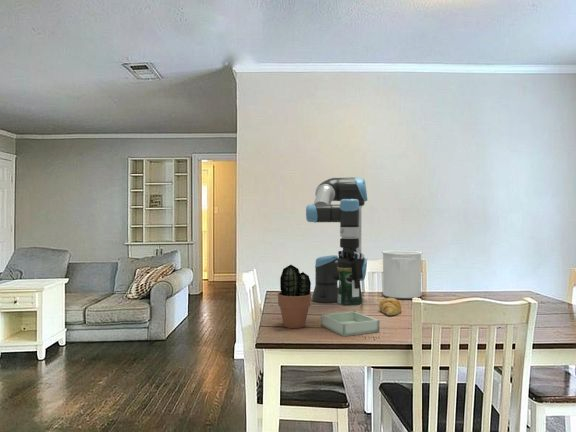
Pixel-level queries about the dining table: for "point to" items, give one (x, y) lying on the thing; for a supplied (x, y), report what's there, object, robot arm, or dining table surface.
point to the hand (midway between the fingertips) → (349, 294)
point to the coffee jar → (346, 284)
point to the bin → (349, 323)
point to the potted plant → (294, 297)
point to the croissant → (390, 306)
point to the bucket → (402, 274)
